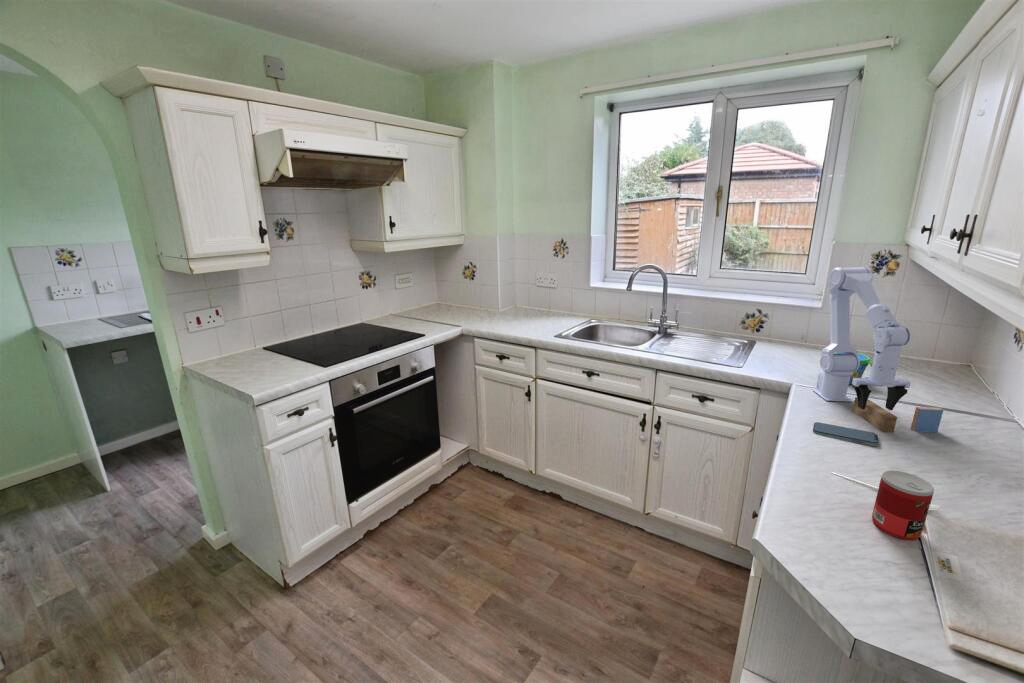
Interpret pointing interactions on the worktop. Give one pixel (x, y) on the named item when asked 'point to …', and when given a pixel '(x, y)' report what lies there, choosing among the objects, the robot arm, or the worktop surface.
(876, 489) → the fork
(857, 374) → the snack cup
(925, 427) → the tile
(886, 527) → the canned food
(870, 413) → the long wooden beam
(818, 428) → the smartphone
